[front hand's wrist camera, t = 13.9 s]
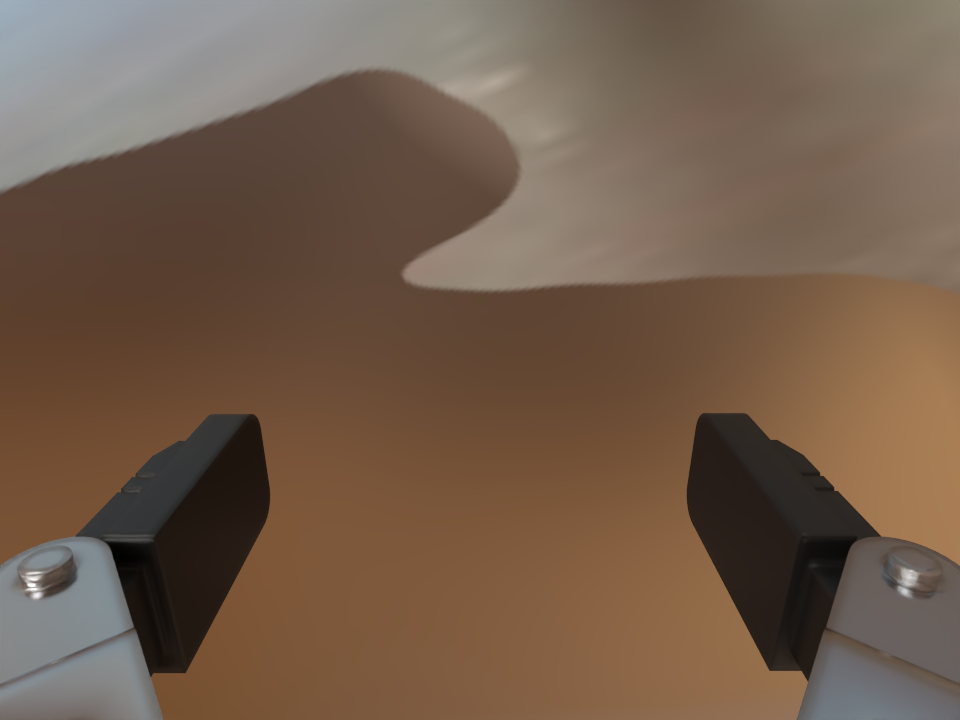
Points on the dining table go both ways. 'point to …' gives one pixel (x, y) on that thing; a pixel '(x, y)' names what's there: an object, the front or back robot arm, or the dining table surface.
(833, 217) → the dining table surface
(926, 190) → the dining table surface
